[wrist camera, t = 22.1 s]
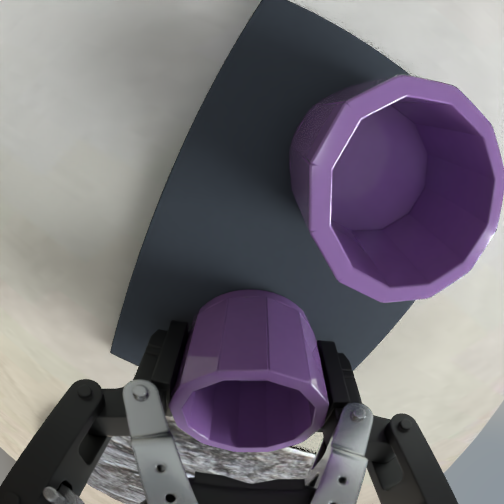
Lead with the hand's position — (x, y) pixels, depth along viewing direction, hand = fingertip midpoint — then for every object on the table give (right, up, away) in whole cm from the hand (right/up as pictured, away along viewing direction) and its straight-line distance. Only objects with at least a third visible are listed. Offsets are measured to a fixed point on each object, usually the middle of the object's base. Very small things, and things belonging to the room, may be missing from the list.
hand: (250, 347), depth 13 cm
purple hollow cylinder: (+4, +7, -3) cm, 9 cm away
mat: (+2, +4, -1) cm, 4 cm away
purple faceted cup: (0, 0, +1) cm, 1 cm away
